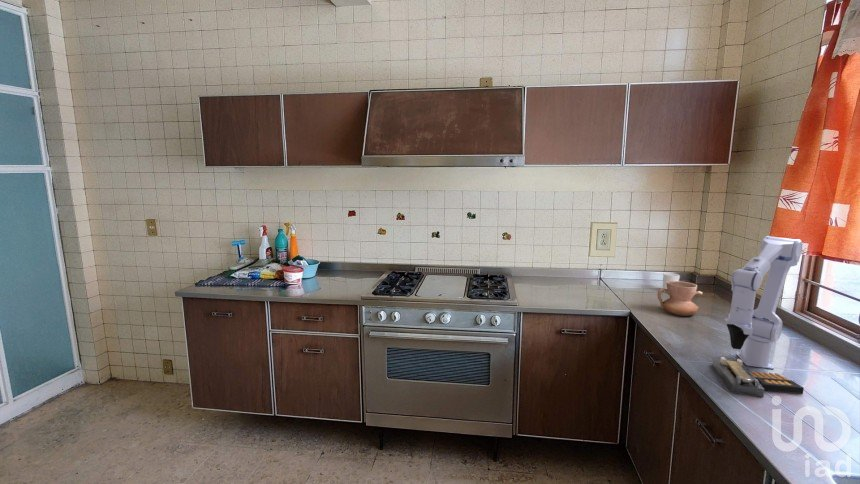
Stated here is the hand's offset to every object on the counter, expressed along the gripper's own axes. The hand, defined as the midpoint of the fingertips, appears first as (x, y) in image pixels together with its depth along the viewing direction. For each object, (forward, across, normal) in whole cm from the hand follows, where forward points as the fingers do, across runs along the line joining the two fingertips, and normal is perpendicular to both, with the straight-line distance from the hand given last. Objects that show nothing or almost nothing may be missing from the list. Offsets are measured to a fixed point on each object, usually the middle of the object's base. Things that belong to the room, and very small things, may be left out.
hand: (736, 348), depth 136 cm
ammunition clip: (+8, +8, +11) cm, 16 cm away
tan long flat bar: (+6, +5, 0) cm, 8 cm away
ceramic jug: (+10, -64, -2) cm, 64 cm away
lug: (+7, -2, 0) cm, 7 cm away
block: (+9, +3, 0) cm, 10 cm away
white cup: (+10, -102, +2) cm, 102 cm away
